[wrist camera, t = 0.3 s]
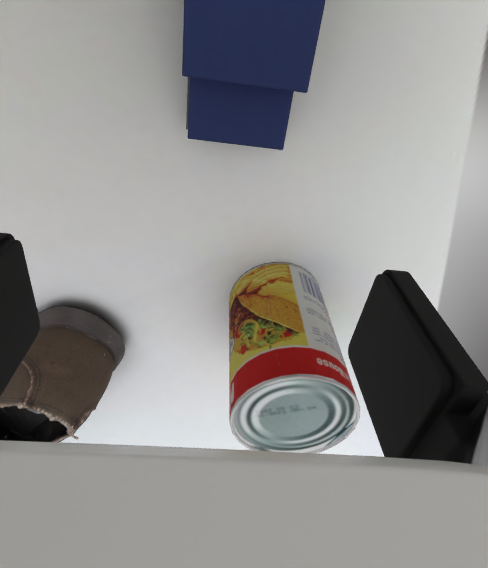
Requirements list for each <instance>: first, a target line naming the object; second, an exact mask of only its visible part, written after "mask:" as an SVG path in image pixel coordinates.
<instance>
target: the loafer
mask: <svg viewBox="0 0 488 568" xmlns="http://www.w3.org/2000/svg"><path fill="white" fill-rule="evenodd" d="M38 316H39V320H40V330H39V333H38V336H37V337H36V339H35V341H34V342H33V344H32V345H31V347H30V349H29V350H28V352H27V354H26V355H25V357H24V359H23V360H22V362H21V364H20V365H19V367H18V368H17V370H16V372H15V373H14V375H13V377H12V378H11V380H10V382H9V383H8V385H7V386H6V388H5V390H4V391H3V393H2V395H1V396H0V440H4V441H31V442H57V443H59V442H61V441H62V440H64V439H65V438H67V437H70V436H72V437H73V438H75V439H78V437H76V436H74V433H75V432H76V430H77V429H78V428H79V427H80V426H81V425H82V424H83V423H84V422H85V421H86V419H87V418H88V417H89V415H90V414H91V412H92V411H93V410H95V409H96V406H97V404H98V402H99V401H100V399H101V397H102V395H103V394H104V392H105V390H106V388H107V386H108V384H109V381H110V378H111V375H112V372H113V371H114V370H115V369H116V367H117V366H118V365H119V363H120V361H121V360H122V358H123V356H124V352H125V346H124V342H123V340H122V338H121V336H120V335H119V334H118V333H117V332H116V331H115V330H114V329H113V328H112V327H111V326H110V325H109V324H107V323H106V322H105V321H104V320H103V319H101V318H99V317H97V316H95V315H93V314H92V313H90V312H87V311H84V310H81V309H78V308H73V307H66V306H59V307H52V308H49V309H46V310H44V311H42V312H40V313H38Z"/></svg>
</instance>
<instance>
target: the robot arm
mask: <svg viewBox="0 0 488 568" xmlns="http://www.w3.org/2000/svg"><path fill="white" fill-rule="evenodd" d="M39 330H40V320H39V316H38V311H37V307H36V303H35V299H34V294H33V290H32V286H31V282H30V277H29V273H28V269H27V264H26V260H25V256H24V252H23V247H22V244H21V242H20V241H18V240H15V239H14V237H13V236H12V235H11V234H7V233H0V396H1V395H2V393H3V391H4V390H5V388H6V386H7V385H8V383H9V382H10V380H11V378H12V377H13V375H14V373H15V372H16V370H17V368H18V367H19V365H20V364H21V362H22V360H23V359H24V357H25V355H26V354H27V352H28V350H29V349H30V347H31V345H32V344H33V342H34V341H35V339H36V337H37V336H38V333H39ZM348 354H349V359H350V361H351V364H352V367H353V370H354V373H355V375H356V378H357V381H358V384H359V387H360V389H361V392H362V395H363V398H364V401H365V403H366V406H367V409H368V412H369V415H370V417H371V420H372V423H373V426H374V429H375V431H376V434H377V437H378V440H379V442H380V445H381V448H382V451H383V454H384V456H385V457H376V456H355V455H334V454H314V453H293V452H272V451H251V450H228V449H205V448H182V447H158V446H134V445H110V444H84V443H57V442H31V441H4V440H0V568H488V393H487V391H488V382H487V380H486V379H485V377H484V376H483V375H482V373H481V372H480V370H479V369H478V368H477V366H476V365H475V364H474V362H473V361H472V359H471V358H470V357H469V355H468V354H467V353H466V351H465V350H464V348H463V347H462V345H461V344H460V343H459V341H458V340H457V338H456V337H455V336H454V334H453V333H452V332H451V330H450V329H449V327H448V326H447V325H446V323H445V322H444V320H443V319H442V318H441V316H440V315H439V313H438V312H437V311H436V309H435V308H434V306H433V305H432V304H431V302H430V301H429V299H428V298H427V297H426V295H425V294H424V293H423V291H422V290H421V288H420V287H419V286H418V284H417V283H416V281H415V280H414V279H413V277H412V276H411V274H410V273H409V272H406V271H396V270H385V271H384V272H383V274H379V275H377V276H376V278H375V280H374V283H373V285H372V288H371V291H370V293H369V296H368V298H367V301H366V303H365V306H364V308H363V311H362V313H361V316H360V318H359V321H358V323H357V326H356V329H355V331H354V334H353V336H352V339H351V341H350V344H349V348H348Z"/></svg>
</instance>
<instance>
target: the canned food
mask: <svg viewBox="0 0 488 568" xmlns="http://www.w3.org/2000/svg"><path fill="white" fill-rule="evenodd" d="M229 362H230V426H231V430H232V433H233V435H234V436H235V437H236V438H237V440H238V441H239V442H240V443H241V444H243V445H244V446H246V447H247V448H248V449H250V450H253V451H272V452H293V453H314V454H315V453H319V452H322V451H324V450H326V449H329V448H331V447H333V446H335V445H337V444H338V443H340V442H341V441H343V440H344V439H346V438H347V437H348V436H349V434H350V433H351V432H352V431H353V430H354V429H355V427H356V425H357V423H358V421H359V417H360V406H359V403H358V400H357V397H356V394H355V392H354V389H353V386H352V383H351V380H350V377H349V374H348V371H347V368H346V365H345V362H344V359H343V356H342V353H341V350H340V347H339V344H338V341H337V339H336V336H335V333H334V330H333V327H332V324H331V321H330V318H329V315H328V312H327V309H326V306H325V303H324V300H323V297H322V294H321V291H320V289H319V286H318V284H317V281H316V280H315V279H314V278H313V276H312V275H311V274H310V273H309V272H307V271H306V270H304V269H303V268H301V267H299V266H296V265H293V264H290V263H280V262H275V263H268V264H263V265H260V266H257V267H255V268H252V269H251V270H249V271H248V272H246V273H245V274H243V275H242V276H241V277H240V278H239V280H238V281H237V282H236V283H235V285H234V287H233V289H232V291H231V294H230V302H229Z"/></svg>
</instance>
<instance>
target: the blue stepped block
mask: <svg viewBox="0 0 488 568" xmlns="http://www.w3.org/2000/svg"><path fill="white" fill-rule="evenodd" d="M324 5H325V0H184V31H183V66H182V75H183V76H187V77H188V95H187V123H186V129H187V130H188V138H189V139H197V140H205V141H213V142H221V143H230V144H238V145H246V146H254V147H263V148H271V149H279V150H283V147H284V141H285V136H286V130H287V125H288V119H289V114H290V108H291V102H292V97H293V91H296V92H304V93H307V90H308V85H309V80H310V75H311V70H312V65H313V60H314V55H315V50H316V45H317V40H318V35H319V30H320V25H321V20H322V15H323V10H324Z"/></svg>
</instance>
